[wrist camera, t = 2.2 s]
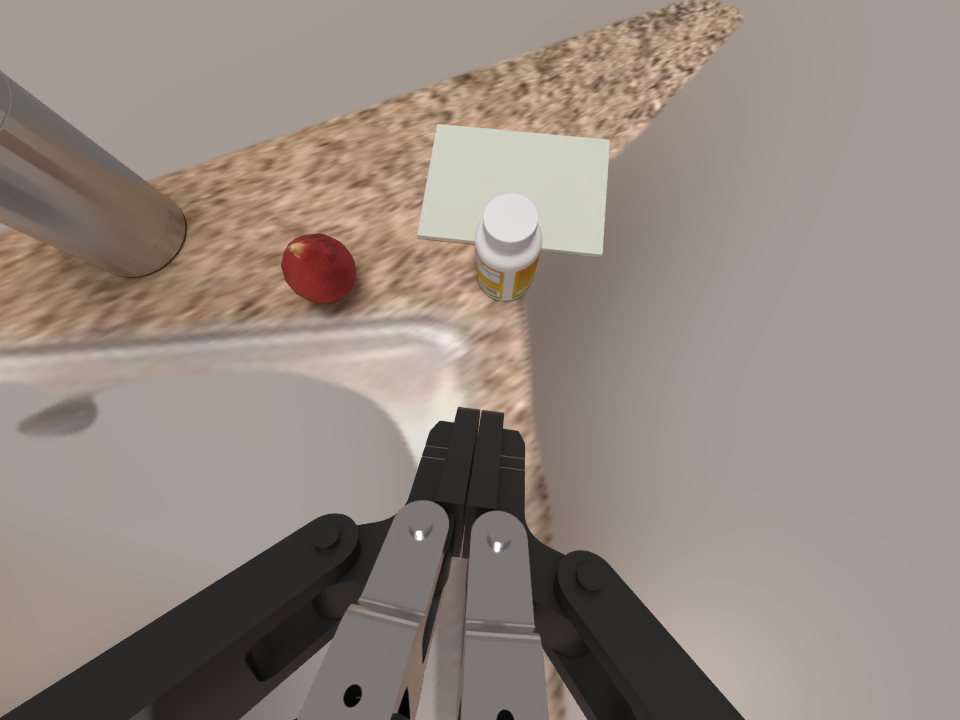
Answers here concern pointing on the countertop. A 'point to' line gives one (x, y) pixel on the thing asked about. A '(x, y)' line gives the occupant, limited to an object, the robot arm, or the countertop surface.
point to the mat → (517, 185)
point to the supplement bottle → (507, 246)
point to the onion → (318, 268)
